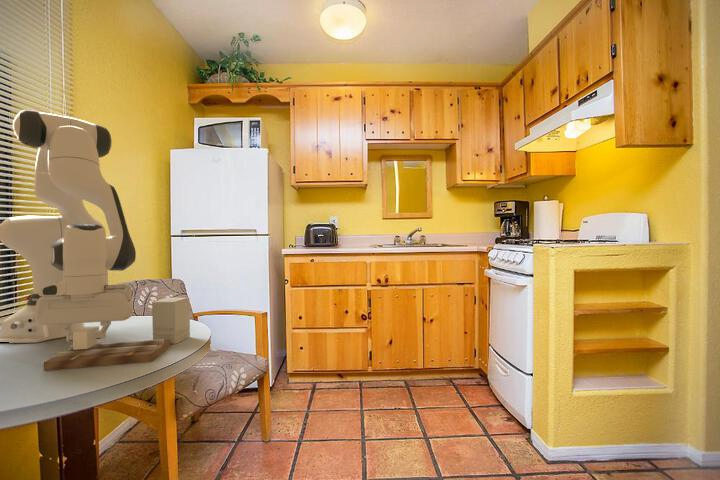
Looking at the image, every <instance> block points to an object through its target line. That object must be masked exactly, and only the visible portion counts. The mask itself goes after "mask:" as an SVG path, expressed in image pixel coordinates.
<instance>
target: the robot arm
mask: <svg viewBox="0 0 720 480" xmlns="http://www.w3.org/2000/svg"><path fill="white" fill-rule="evenodd" d="M12 128H13V132H14V135H15V136H16V139H17V141H19V142H20V143H21V144H22V145H25V146H27V147H31V148H33V149H38V151H37V155H36V160H35V166H34V167H35V168H34V188H33V189H34V191H33V192H34V196H35V197H36V199H38V200H39V201H40V202H42V203H43V204H46V205H48V206H50V207H52V208H55V209H57V211H58V212H59V215H57V216H49V215H48V216H46V215H21V216H20V215H19V216H11V217H10V216H9V217H7V218H5V220H3V221H2V222H1V223H0V242H1V243H2V244H3V245H4V246H5V247H6V248H7V249H9V250H10V249H11V250H12V251H14V252H16V253H18V254H19V255H20V256H22V257H23V258H24V259H25V261H26V262H27V264H28V266H29V268H30V270H31V275H32V283H33V284H32V286H33V287H32V289H33V291H32V293H30V294H29V295H26V296H23V297H22V298H23V299H22V301H27V302H26V305H25V306H24V307H22V308H20V309H19V310H18V311H16V312H15V313H13V314H12V315H10V316H8V317H7V318H5V319H4V320H3V321H2V322H1V326H0V342H9V343H8V344H15V343H16V344H21V343H23V344H24V343H26V344H27V343H31V344H32V343H41V342H45V341H49V340H54V339H59V338H65V340H66V342H73V332H75V331H77V330H80V329H82V328H84V327H86V326H85V323H86V324H87V323H100V324H99V325H100V326H101V329H99V332H97V333H96V339H99V340H103V339H105V338H107V337H106V336H107V330H108V329H109V327H110V326H111V325H112V322H120V321H121V322H122V321H123V322H124V321H126V320H129V319H131V317H132V316H133V314H134V309H133V303H132V298H133V291H132V289H131V288H130V287H129V286H127V285H126V284H118V285H117V284H116V285H115V284H109V279H108V278H109V277H108V276H109V271H114V272H115V271H116V272H117V271H119V272H120V271H121V272H123V271H125V270H126V269H128V268H129V267H131V266H132V265H133V264H134V263H135V262H136V258H137V254H136V253H137V251H136V247H135V244H134V242H133V239H132V237H131V235H130V232H129V228H128V224H127V221H126V217H125V214H124V211H123V207H122V204H121V200H120V197H119V195H118V192H117V189H115V187H114V186H113V185H111V184H109V183H108V181H106V179H105V178H104V176H103V175H102V172H101V167H100V158H103V157H105V156H107V155H108V154H110V151H111V149H112V144H113V140H112V136H111V135H112V134H111V133H110V131H109V130H108V129H107V127H105V126H102V125H99V124H97V123H91V122H89V121H85V120H82V119H78V118H75V117H71V116H65V115H63V116H62V115H59V114H54V113H47V112H39V110H33V109H23V110H20V111H19V112H18V113H17V114H16V116H15V117H14V120H13V122H12ZM83 201H86V202H88V203H90V204H93V205H95V206H97V207H98V208H99V209H100V210H102V212H103V213H104V217H105V221H106V224H107V228H108V231H109V234H110V236H107V232H106V228H105V226H104V225H103V223H102V222H100V221H99V220H98V219H96V218H95V217H93V215H91V213H90V212H89V211H88V210H87V208H86V207H85V204H84V202H83ZM100 326H99V327H100Z"/></svg>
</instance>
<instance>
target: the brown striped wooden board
mask: <svg viewBox="0 0 720 480" xmlns="http://www.w3.org/2000/svg"><path fill="white" fill-rule="evenodd" d="M170 347H171V344H170V339H167V340H164V339H158V340H153V339H146V340H131V341H117V342H105V343H104V342H101V348H99V349H91V350H77V351H71V349H72V348H73V345H70V346H69V347H68V350H65V351H57V352H55V355H54V356H53V357H51V358H49V359H47V360H45V361H44V362H43V371H53V370H54V371H56V370H65V369H66V370H67V369H68V370H69V369H76V368H77V369H78V368H79V369H80V368H90V367H99V366H100V367H102V366H113V365H125V364H128V365H129V364H137V363H147V362H148V363H149V362H150V363H151V362H154V361H155V360H156V359H157V358H158V357H159V356H160V355H162V354H163V353H164V352H165V351H166V350H168V349H169V348H170Z"/></svg>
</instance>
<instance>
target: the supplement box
mask: <svg viewBox="0 0 720 480" xmlns="http://www.w3.org/2000/svg"><path fill="white" fill-rule="evenodd" d="M151 305H152V306H151V307H152V308H151V309H152V310H151V312H152V340H158V339H164V340H167V339H170V345H175V344H176V345H177V344H178V343H180V341H181V342H182V340H183V341H185V340H187V339H189V338H190V337H191V324H190V322H191V319H190V315H191V314H190V313H191V312H190V297H165V298H162V299H158V300H154V301H152V302H151ZM186 338H187V339H186ZM184 339H185V340H184Z"/></svg>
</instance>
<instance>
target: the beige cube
mask: <svg viewBox="0 0 720 480" xmlns="http://www.w3.org/2000/svg"><path fill="white" fill-rule="evenodd" d="M99 331H100V326H99V325H97V326H85V327H84V328H82V329H80V330H77V331H75V332H73V341H72V344H73V348H72V349H71V351H77V350H91V349H99V348H101V343H102V342H101V343H99V342H100V339H96V333H97V332H99Z"/></svg>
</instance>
